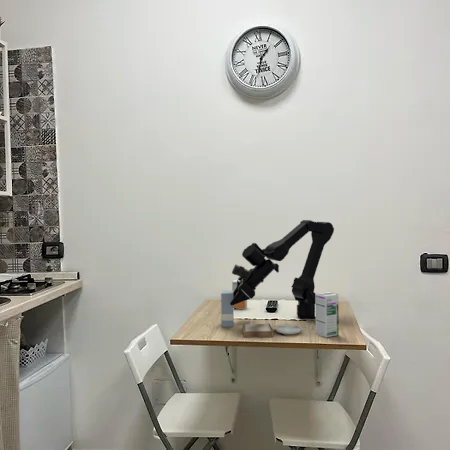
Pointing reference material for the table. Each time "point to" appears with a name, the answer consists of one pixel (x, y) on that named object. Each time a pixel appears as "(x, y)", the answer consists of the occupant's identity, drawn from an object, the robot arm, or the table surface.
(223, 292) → the carton
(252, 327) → the tray
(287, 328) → the saucer
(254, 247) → the robot arm
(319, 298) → the syrup box
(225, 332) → the table surface
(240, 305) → the skincare box
